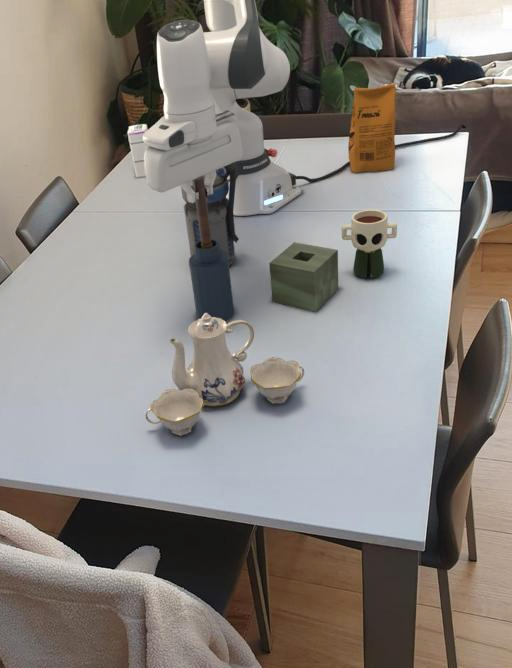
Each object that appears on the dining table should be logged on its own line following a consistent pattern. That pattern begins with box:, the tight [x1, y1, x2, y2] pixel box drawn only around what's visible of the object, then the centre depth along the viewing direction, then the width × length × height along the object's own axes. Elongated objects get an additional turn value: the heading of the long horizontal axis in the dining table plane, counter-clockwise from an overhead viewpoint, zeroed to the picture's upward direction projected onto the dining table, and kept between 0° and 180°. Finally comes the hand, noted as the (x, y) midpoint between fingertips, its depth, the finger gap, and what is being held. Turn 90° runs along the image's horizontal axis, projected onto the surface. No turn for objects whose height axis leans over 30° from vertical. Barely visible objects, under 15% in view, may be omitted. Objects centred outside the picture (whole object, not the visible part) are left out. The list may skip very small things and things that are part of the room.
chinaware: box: [145, 313, 305, 437], centre depth 118 cm, size 28×17×17 cm, turn 114°
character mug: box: [341, 208, 398, 279], centre depth 148 cm, size 11×7×13 cm, turn 78°
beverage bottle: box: [180, 164, 240, 267], centre depth 158 cm, size 10×13×25 cm
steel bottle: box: [188, 239, 235, 323], centre depth 143 cm, size 8×8×16 cm
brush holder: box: [268, 241, 339, 313], centre depth 146 cm, size 10×10×9 cm
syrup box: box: [126, 123, 149, 178], centre depth 218 cm, size 6×6×14 cm
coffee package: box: [347, 83, 397, 174], centre depth 194 cm, size 10×12×22 cm
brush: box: [193, 176, 213, 249], centre depth 137 cm, size 2×2×22 cm
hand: (200, 198), depth 133 cm, fingers closed on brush, 2 cm apart
